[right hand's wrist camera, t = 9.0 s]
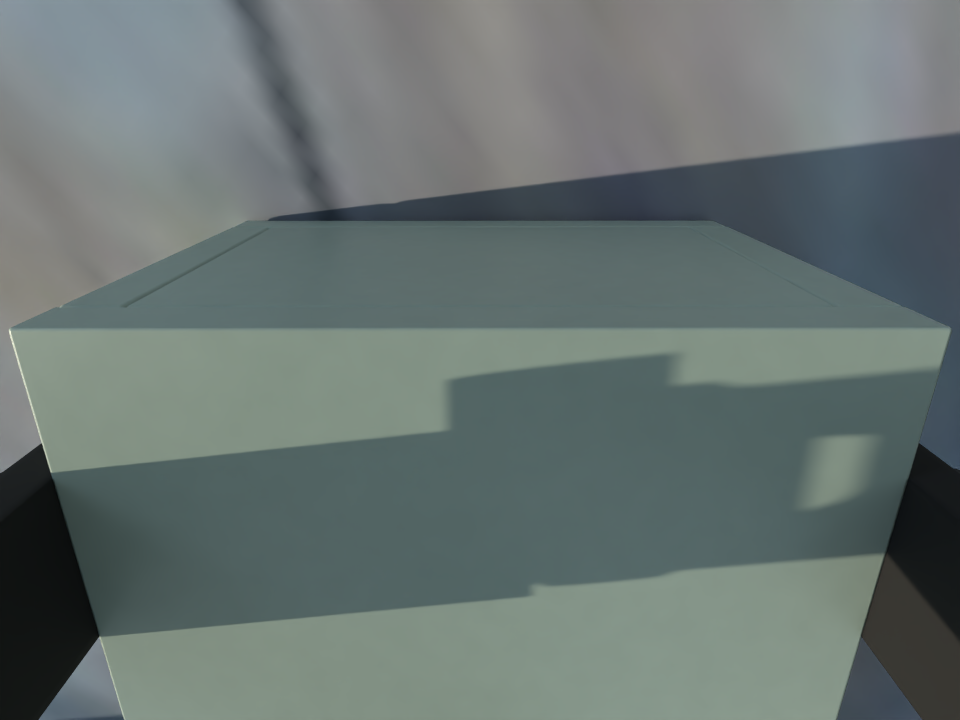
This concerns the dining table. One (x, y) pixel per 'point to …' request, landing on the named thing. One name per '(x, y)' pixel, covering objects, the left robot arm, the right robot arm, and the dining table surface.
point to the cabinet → (480, 470)
